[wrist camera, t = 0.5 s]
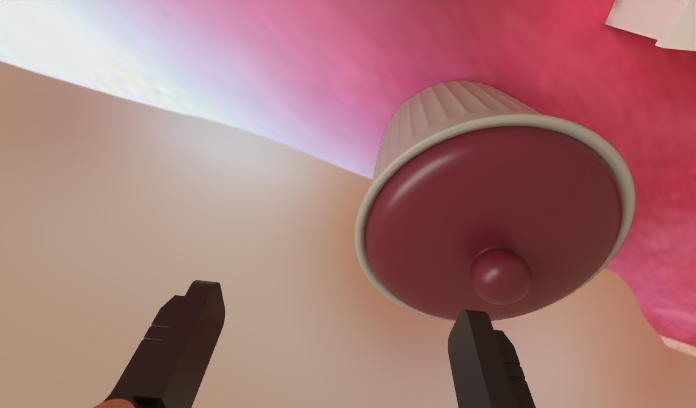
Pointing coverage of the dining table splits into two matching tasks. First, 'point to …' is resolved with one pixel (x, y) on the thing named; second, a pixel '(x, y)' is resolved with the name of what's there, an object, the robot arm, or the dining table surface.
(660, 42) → the lid
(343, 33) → the dining table surface
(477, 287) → the canister
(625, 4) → the box
